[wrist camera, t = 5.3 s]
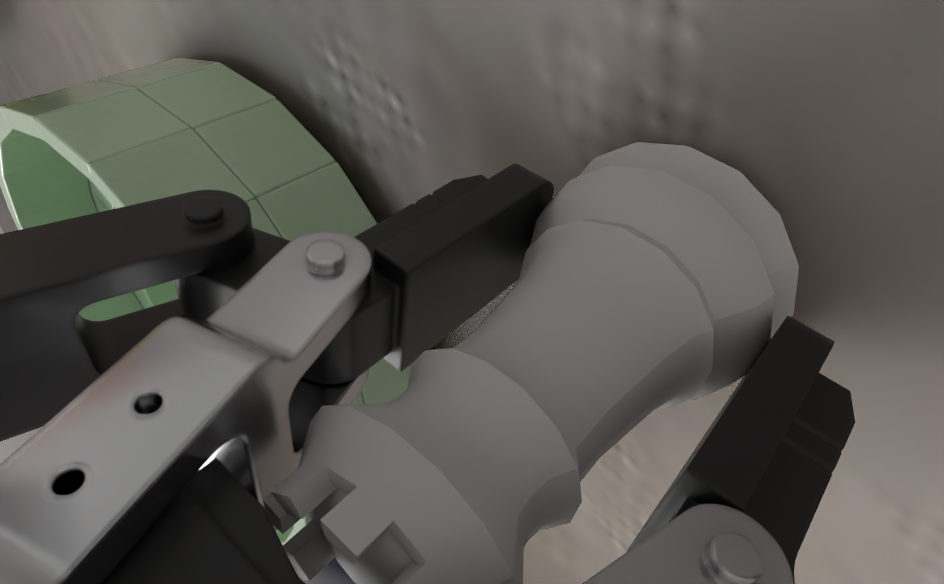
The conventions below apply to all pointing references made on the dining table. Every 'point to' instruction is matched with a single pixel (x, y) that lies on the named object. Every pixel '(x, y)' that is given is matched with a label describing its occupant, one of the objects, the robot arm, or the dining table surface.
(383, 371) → the bowl
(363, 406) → the rook chess piece
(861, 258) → the dining table surface
